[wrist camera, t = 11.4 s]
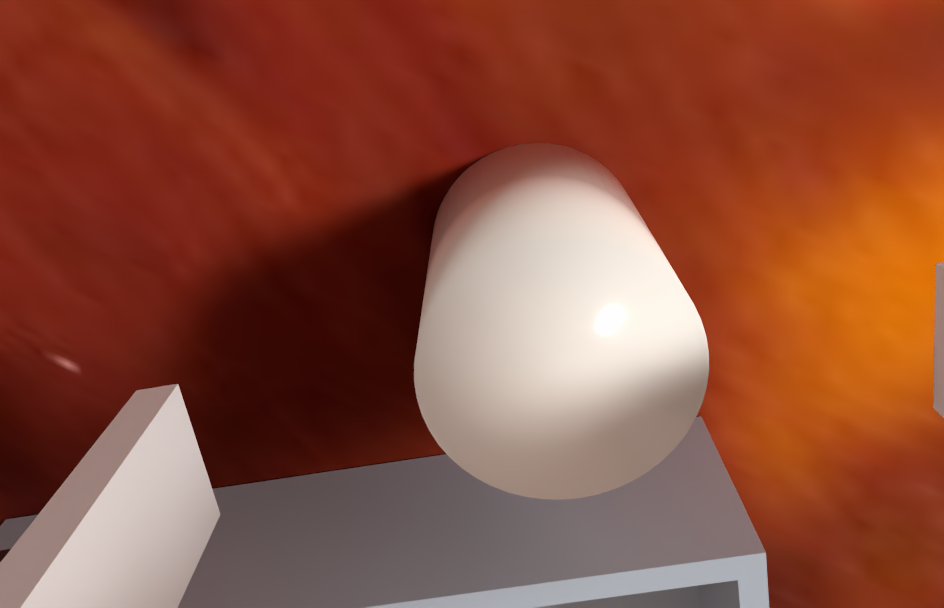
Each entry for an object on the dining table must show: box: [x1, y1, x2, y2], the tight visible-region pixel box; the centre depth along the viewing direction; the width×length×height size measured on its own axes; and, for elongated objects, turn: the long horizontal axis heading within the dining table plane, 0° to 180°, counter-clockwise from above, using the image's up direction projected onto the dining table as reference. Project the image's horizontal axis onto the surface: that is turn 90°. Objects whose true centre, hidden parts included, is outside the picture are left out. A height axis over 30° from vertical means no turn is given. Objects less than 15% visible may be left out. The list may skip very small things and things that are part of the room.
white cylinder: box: [414, 143, 709, 500], centre depth 18 cm, size 5×5×7 cm
